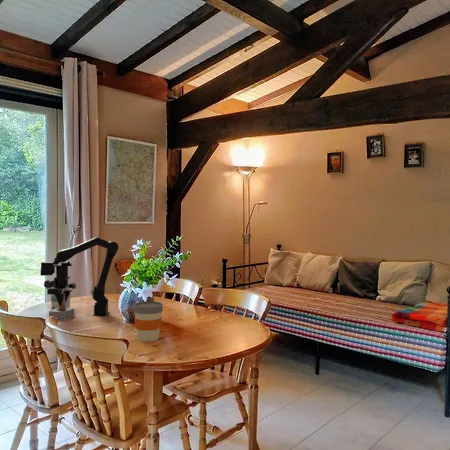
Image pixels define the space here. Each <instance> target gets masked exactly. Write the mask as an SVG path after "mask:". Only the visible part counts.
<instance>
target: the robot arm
mask: <svg viewBox="0 0 450 450" xmlns="http://www.w3.org/2000/svg"><path fill="white" fill-rule="evenodd" d="M96 246H99V247H102V248H105V251H104V253H105V255H104V259H103V263H102V265H101V269H100V272H99V276H98V279H97V282H96V284H92V288H91V290H90V293H91V297H92V299H93V300H94V301H95V303H94V305H93V316H98V317H99V316H101V317H102V316H103V317H106V316H107V315H109V314H110V313H111V312H109V299H108V298H107V296H105V293H106V290H105V289H106V283H107V280H108V275H109V272H110V269H111V267H112V263H113V259H114V258H115V256H116V255H117V252H118V250H119V244H118V243H117V242H116V241H114V240H106V239H103V238H100V237H98V236H95V237H93V238H91V239H88V240H86V241H85V242H81V243H79V244H77V245H75V246H73V247H69V248H68V247H67V248H64V249H60V250H58V251H57V252H56V256H55V258H54V259H53V260H52V261H51V262H49V261H40V276H41V277H42V276H43V277H45V276H53V275H54V274H55V273H56V274H55V277H54V278H53V280H51V281H50V280H49V279H47V280H45V281H44V283H43V287H44V288H45V289H46V293H47V294H46V295H51V294H52V295H55V296H56V298H57V301H58V304H59V306H62V303H63V300H64V296H65V303H66V301H67V299H68V297H69V295H70V296H71V293H72V291H73V290H75V289H76V288H77V284H76V283H75V282H69V279H70V278H71V276H69V267H72V266H73V264H72V263H71V262H70V261H69V260H70V259H71V258H73V257H74V256H75V255H77V254H79V253H82V252H85V251H86V250H89V249H91V248H94V247H96ZM66 261H67V262H66Z"/></svg>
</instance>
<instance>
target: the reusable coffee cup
mask: <svg viewBox="0 0 450 450" xmlns="http://www.w3.org/2000/svg"><path fill="white" fill-rule="evenodd" d="M163 311H164V307H163V303H162V302H159V301H140V302H136V303H134V306H133V312H134V327H135V329H136V334H137V335H136V336H137V337H136V338H137V340H138V341H140V342H144V343H145V342H147V343H149V342H155V341H157V340H159V337H160V331H161V330H160V329H161V328H162V321H163V316H162V315H163Z"/></svg>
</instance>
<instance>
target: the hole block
mask: <svg viewBox="0 0 450 450" xmlns="http://www.w3.org/2000/svg"><path fill="white" fill-rule="evenodd" d="M50 316H54V317H56V318H57V319H56V320H59V321H60V320H62V321H63V320H64V321H67V320H68V319H70V318H71V319H72V317H74V316H75V307H70V308H65V310H64V311H59V307H57V308H55V309H53V310H51V309H50V310H48V318H49V317H50Z"/></svg>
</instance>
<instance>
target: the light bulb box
mask: <svg viewBox="0 0 450 450" xmlns="http://www.w3.org/2000/svg"><path fill="white" fill-rule="evenodd" d="M50 295H51V296H50V297H51V300H50V301H51V304H50V306H51V307H50V308H51V309H50V310H53V309H55V308H57V307H59V304H58V301H57V298H56V296H55V295H52V294H50ZM65 308H71V294H70V295H69V297H68V299H67V301H66V303H65Z"/></svg>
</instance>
